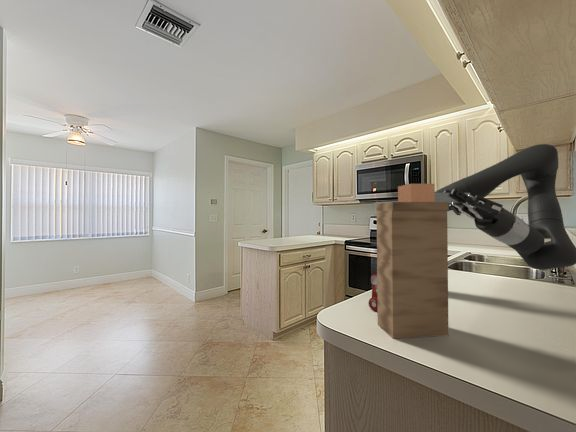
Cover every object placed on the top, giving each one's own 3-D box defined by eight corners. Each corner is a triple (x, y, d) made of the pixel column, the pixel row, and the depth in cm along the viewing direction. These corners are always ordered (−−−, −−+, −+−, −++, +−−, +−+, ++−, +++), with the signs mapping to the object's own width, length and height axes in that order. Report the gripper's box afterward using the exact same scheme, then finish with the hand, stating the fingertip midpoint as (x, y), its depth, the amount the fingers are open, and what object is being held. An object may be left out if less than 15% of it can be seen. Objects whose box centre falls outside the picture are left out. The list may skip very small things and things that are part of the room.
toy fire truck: (399, 321, 71) (399, 283, 71) (364, 308, 82) (364, 274, 82) (414, 316, 75) (414, 280, 75) (379, 304, 85) (379, 272, 85)
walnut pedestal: (376, 323, 69) (375, 203, 69) (426, 321, 71) (424, 203, 71) (394, 339, 60) (392, 202, 61) (449, 336, 62) (448, 201, 62)
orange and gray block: (398, 203, 69) (398, 186, 69) (457, 203, 70) (457, 186, 70) (411, 202, 63) (411, 183, 63) (476, 202, 64) (475, 184, 64)
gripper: (485, 213, 76) (436, 183, 74) (535, 212, 62) (477, 175, 60) (473, 235, 75) (424, 206, 74) (521, 239, 61) (462, 203, 60)
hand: (448, 192), depth 67 cm, fingers closed on orange and gray block, 2 cm apart
